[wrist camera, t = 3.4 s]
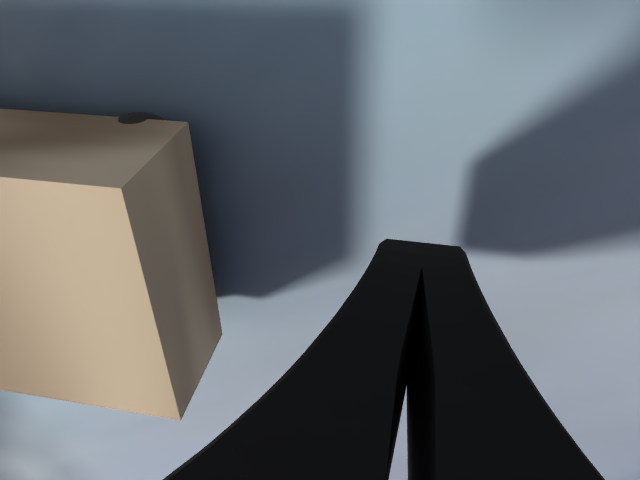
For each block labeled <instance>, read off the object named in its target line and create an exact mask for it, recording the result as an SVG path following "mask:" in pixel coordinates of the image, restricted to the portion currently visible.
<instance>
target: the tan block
mask: <svg viewBox="0 0 640 480" xmlns="http://www.w3.org/2000/svg"><path fill="white" fill-rule="evenodd" d="M221 336H222V329H221V323H220V317H219V310H218V304H217V298H216V292H215V285H214V279H213V273H212V267H211V261H210V254H209V248H208V242H207V236H206V230H205V223H204V217H203V211H202V205H201V198H200V192H199V186H198V180H197V174H196V167H195V161H194V155H193V149H192V143H191V136H190V130H189V124H188V122H182V121H168V120H164V119H162V118H160V117H158V116H156V115H153V114H149V113H144V112H133V113H128V114H124V115H121V116H119V117H112V116H98V115H84V114H70V113H56V112H42V111H28V110H14V109H0V390H4V391H10V392H16V393H22V394H28V395H34V396H39V397H45V398H51V399H57V400H63V401H69V402H75V403H81V404H87V405H92V406H98V407H104V408H110V409H116V410H122V411H128V412H134V413H139V414H145V415H151V416H157V417H163V418H169V419H175V420H181V419H182V417H183V415H184V413H185V410H186V408H187V406H188V404H189V402H190V400H191V398H192V396H193V394H194V392H195V390H196V388H197V386H198V384H199V381H200V379H201V377H202V375H203V373H204V371H205V369H206V367H207V365H208V363H209V361H210V359H211V357H212V355H213V352H214V350H215V348H216V346H217V344H218V342H219V340H220V338H221Z"/></svg>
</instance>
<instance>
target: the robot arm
mask: <svg viewBox="0 0 640 480" xmlns="http://www.w3.org/2000/svg"><path fill="white" fill-rule="evenodd" d="M406 385H407V443H408V480H605V479H604V478H603V477H602V476H601V474H600V473H599V472H598V471H597V469H596V468H595V467H594V466H593V464H592V463H591V462H590V461H589V459H588V458H587V457H586V456H585V454H584V453H583V452H582V451H581V449H580V448H579V447H578V445H577V444H576V443H575V441H574V440H573V439H572V437H571V436H570V435H569V433H568V432H567V431H566V429H565V428H564V427H563V425H562V424H561V423H560V421H559V420H558V418H557V417H556V416H555V414H554V413H553V411H552V410H551V409H550V407H549V406H548V404H547V403H546V401H545V400H544V398H543V397H542V395H541V394H540V393H539V391H538V390H537V388H536V386H535V385H534V383H533V382H532V380H531V379H530V377H529V376H528V374H527V372H526V371H525V369H524V368H523V366H522V365H521V363H520V361H519V360H518V358H517V356H516V355H515V353H514V351H513V350H512V348H511V346H510V345H509V343H508V341H507V339H506V337H505V336H504V334H503V332H502V330H501V328H500V327H499V325H498V323H497V321H496V319H495V318H494V316H493V314H492V312H491V310H490V308H489V306H488V304H487V302H486V300H485V298H484V296H483V294H482V292H481V290H480V288H479V285H478V283H477V281H476V279H475V276H474V274H473V272H472V269H471V267H470V264H469V261H468V258H467V255H466V253H465V252H464V251H463V249H462V248H461V247H459V246H449V245H440V244H430V243H421V242H411V241H402V240H392V239H386V240H384V241H383V242H381V243H380V244H379V246H378V248H377V251H376V253H375V255H374V257H373V259H372V261H371V263H370V264H369V266H368V268H367V269H366V271H365V273H364V274H363V276H362V277H361V279H360V281H359V282H358V284H357V285H356V287H355V288H354V290H353V291H352V292H351V294H350V295H349V297H348V298H347V299H346V301H345V302H344V304H343V305H342V306H341V308H340V309H339V311H338V312H337V313H336V315H335V316H334V317H333V319H332V320H331V321H330V322H329V324H328V325H327V326H326V327H325V328H324V330H323V331H322V332H321V333H320V334H319V336H318V337H317V338H316V339H315V340H314V342H313V343H312V344H311V345H310V346H309V347H308V349H307V350H306V351H305V352H304V353H303V354H302V356H301V357H300V358H299V359H298V360H297V361H296V362H295V363H294V364H293V365H292V366H291V368H290V369H289V370H288V371H287V372H286V373H285V374H284V375H283V376H282V377H281V378H280V379H279V380H278V381H277V382H276V383H275V384H274V385H273V386H272V387H271V388H270V389H269V390H268V391H267V392H266V393H265V394H264V395H263V396H262V397H261V398H260V399H259V400H258V401H257V402H255V403H254V404H253V405H252V406H251V407H250V408H249V409H248V410H247V411H246V412H244V413H243V414H242V415H241V416H240V417H239V418H238V419H237V420H236V421H234V422H233V423H232V424H231V425H230V426H229V427H228V428H227V429H226V430H224V431H223V432H222V433H221V434H220V435H219V436H217V437H216V438H215V439H214V440H213V441H212V442H210V443H209V444H208V445H207V446H205V447H204V448H203V449H202V450H201V451H199V452H198V453H197V454H196V455H194V456H193V457H192V458H190V459H189V460H188V461H186V462H185V463H184V464H182V465H181V466H180V467H179V468H177V469H176V470H175V471H173V472H172V473H171V474H169V475H168V476H167V477H166V478H164V479H163V480H388V479H389V473H390V468H391V463H392V458H393V453H394V448H395V442H396V437H397V432H398V427H399V422H400V416H401V411H402V406H403V401H404V396H405V390H406Z"/></svg>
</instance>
